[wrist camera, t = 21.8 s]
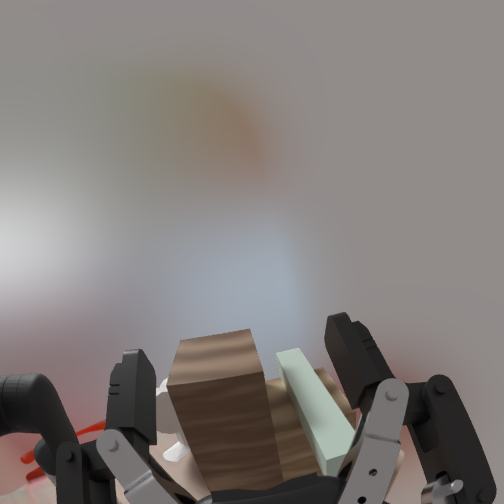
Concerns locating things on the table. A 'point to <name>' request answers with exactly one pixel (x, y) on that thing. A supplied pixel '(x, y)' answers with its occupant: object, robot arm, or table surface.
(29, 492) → the table surface
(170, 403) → the heart sculpture
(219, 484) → the stand
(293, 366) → the pale green bar
